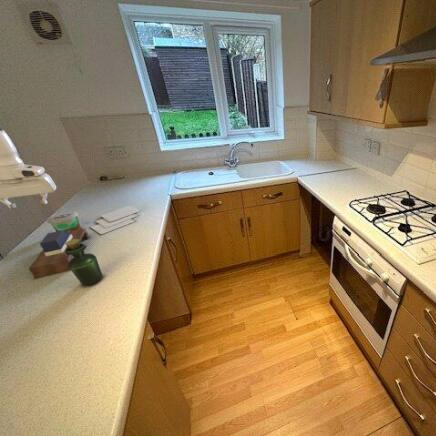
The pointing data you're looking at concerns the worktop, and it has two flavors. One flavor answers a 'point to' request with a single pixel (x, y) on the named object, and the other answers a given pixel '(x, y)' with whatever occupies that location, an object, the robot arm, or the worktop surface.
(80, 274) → the potion bottle
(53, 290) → the worktop surface
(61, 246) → the navy stepped box
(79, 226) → the food container
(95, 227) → the paper stack
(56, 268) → the wooden serving board
